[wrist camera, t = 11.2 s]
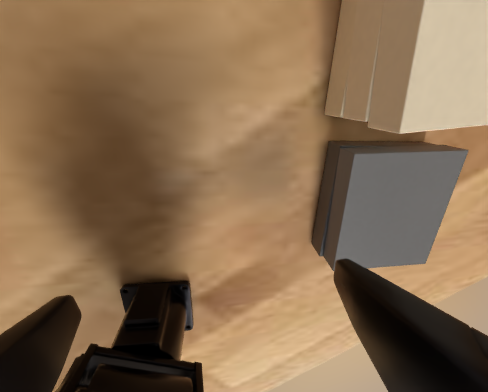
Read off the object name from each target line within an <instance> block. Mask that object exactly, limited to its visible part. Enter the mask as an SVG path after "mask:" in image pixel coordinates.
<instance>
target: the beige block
mask: <svg viewBox="0 0 488 392" xmlns="http://www.w3.org/2000/svg"><path fill="white" fill-rule="evenodd" d="M383 7H384V0H342V3H341V9H340V16H339V22H338V29H337V35H336V42H335V48H334V55H333V61H332V68H331V74H330V80H329V87H328V93H327V100H326V106H325V113H324V115H329V116H335V117H343V118H345V119H351V120H358V121H364V122H368V120H369V112H370V105H371V97H372V90H373V82H374V75H375V67H376V60H377V52H378V45H379V37H380V30H381V22H382V15H383Z"/></svg>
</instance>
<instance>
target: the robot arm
mask: <svg viewBox="0 0 488 392" xmlns="http://www.w3.org/2000/svg"><path fill="white" fill-rule="evenodd" d="M334 283H335V286H336V288H337V290H338V293H339V295H340V297H341V300H342V302H343V305H344V307H345V309H346V312H347V314H348V316H349V319H350V321H351V323H352V325H353V327H354V329H355V331H356V333H357V335H358V337H359V339H360V341H361V342H362V344H363V346H364V348H365V350H366V352H367V353H368V355H369V357H370V359H371V361H372V362H373V364H374V366H375V368H376V370H377V372H378V373H379V375H380V377H381V379H382V381H383V382H384V384H385V386H386V388H387V390H388V392H488V336H487V335H485V334H483V333H481V332H480V331H478V330H476V329H474V328H470V327H469V326H468V325H467V324H465V323H463V322H462V321H460V320H458V319H456V318H454V317H452V316H451V315H449V314H447V313H445V312H444V311H442V310H440V309H438V308H436V307H434V306H433V305H431V304H429V303H427V302H426V301H424V300H422V299H420V298H418V297H417V296H415V295H413V294H411V293H409V292H408V291H406V290H404V289H402V288H400V287H399V286H397V285H395V284H393V283H391V282H390V281H388V280H386V279H384V278H382V277H381V276H379V275H377V274H375V273H373V272H372V271H370V270H368V269H366V268H365V267H363V266H361V265H359V264H357V263H356V262H354V261H352V260H350V259H347V258H345V259H338V260H336V262H335V269H334ZM183 286H186V287H183ZM125 289H126V290H125ZM120 293H121V297H122V301H123V305H124V309H125V313H126V314H125V317H124V319H123V321H122V324H121V326H120V328H119V330H118V333H117V335H116V337H115V340H114V342H113V344H112V347H111V348H106V347H100V346H98V345H97V344H90V346H89V347H88V349H87V351H86V352H85V354H82V355H81V356H80V357H77V358H75V360H74V362H73V364H72V366H71V368H70V369H69V371H68V373H67V375H66V376H65V378H64V380H63V382H62V383H61V385H60V386H59V388H58V389H57V390H56V392H204V390H203V376H202V363H199V362H195V363H191V362H186V361H180V358H181V351H182V344H183V338H184V331H186V330H191V329H192V328H193V313H192V302H191V290H190V283H189V282H187V281H180V282H160V283H141V284H125V285H123V286H122V288H121V290H120ZM80 320H81V311H80V309H79V307H78V305H77V303H76V301H75V299H74V298H73V297H72V296H71V295H66V296H59V297H56V298H54V299H52V300H51V301H49V302H48V303H47V304H45V305H44V306H42V307H41V308H39V309H38V310H36V311H35V312H33V313H32V314H30V315H29V316H27V317H26V318H24V319H23V320H21V321H20V322H18V323H17V324H15V325H14V326H13V327H11V328H10V329H8V330H7V331H5V332H4V333H2V334H1V335H0V392H52V391H53V389H54V386H55V384H56V382H57V380H58V378H59V376H60V373H61V371H62V369H63V366H64V364H65V361H66V358H67V356H68V353H69V350H70V347H71V345H72V342H73V339H74V337H75V334H76V331H77V329H78V326H79V323H80Z"/></svg>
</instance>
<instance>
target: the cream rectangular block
mask: <svg viewBox="0 0 488 392" xmlns="http://www.w3.org/2000/svg"><path fill="white" fill-rule="evenodd" d="M482 125H488V0H384V7H383V15H382V22H381V30H380V37H379V45H378V52H377V60H376V67H375V75H374V82H373V90H372V97H371V105H370V112H369V120H368V128H373V129H378V130H383V131H388V132H393V133H398V134H403V133H413V132H423V131H433V130H442V129H452V128H462V127H472V126H482Z"/></svg>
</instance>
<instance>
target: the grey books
mask: <svg viewBox="0 0 488 392" xmlns="http://www.w3.org/2000/svg"><path fill="white" fill-rule="evenodd" d="M467 153H468V150H466V149H461V148H456V147H451V146H447V145H435V144H430V143H426V142H364V141H329V144H328V150H327V156H326V162H325V168H324V173H323V179H322V185H321V191H320V197H319V203H318V209H317V215H316V221H315V226H314V232H313V238H312V245H313V247H314V248H315V250H316V251H317V253H318V255H319V256H324V258H325V259H326V261H327V262H328V264H329V265H330V267H331V268H332V270H333V271H334V269H335V262H336V260H338V259H345V258H347V259H350V260H352V261H354V262H356V263H357V264H359V265H361V266H363V267H365V268H376V267H389V266H401V265H414V264H425V263H426V261H427V258H428V256H429V253H430V250H431V248H432V245H433V242H434V240H435V237H436V235H437V232H438V229H439V227H440V224H441V222H442V219H443V216H444V214H445V211H446V208H447V206H448V203H449V201H450V198H451V195H452V193H453V190H454V187H455V185H456V182H457V180H458V177H459V174H460V172H461V169H462V167H463V164H464V161H465V159H466V156H467Z"/></svg>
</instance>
